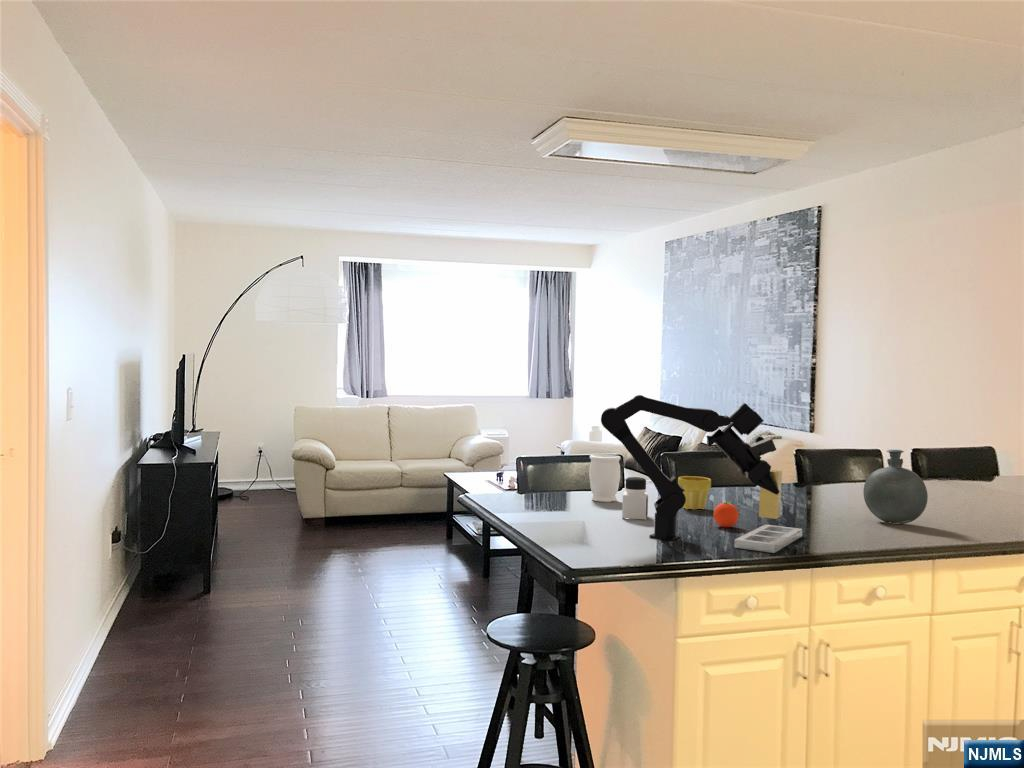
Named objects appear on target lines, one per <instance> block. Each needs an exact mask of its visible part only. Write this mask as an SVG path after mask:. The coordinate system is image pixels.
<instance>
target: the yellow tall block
mask: <svg viewBox="0 0 1024 768" xmlns="http://www.w3.org/2000/svg"><path fill="white" fill-rule="evenodd" d="M770 477H771V478H772V480H773V482H774V483H775V485H776V486H777V488H778V490H779V491H780V493H778V494H777V495H776V494H774V493H772V492H770V491H768V490H766V489H764V488H762V487H760V486H759V506H758V507H759V508H758V517H759V518H764V519H765V518H766V519H775V520H777V519H778V518H780V517H781V507H782V506H781V499H782V477H783V471H782V470H778V469H776V470H775V469H771V470H770Z"/></svg>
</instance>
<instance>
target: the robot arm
mask: <svg viewBox="0 0 1024 768" xmlns="http://www.w3.org/2000/svg"><path fill="white" fill-rule="evenodd" d="M641 411H643V412H647V413H650V414H655V415H658V416H663V417H666V418H669V419H674V420H677V421H681V422H684V423H686V424H689V425H691V426H693V427H695V428H697V429H700V430H702V431H704V432H707V433H712V432H714V433H713V434H712V435H706V446H708V447H711V446H712V445H714V444H715V445H716V446H717V447H718V448H719V449H720V450H721V451H722V452H723V454H724V455H726V456H727V458H728V459H729V460H730V461H732V463H733V464H734V465H735V466H736V467H737V471H738V472H739V473H740V474H741V475H742V476H745V478H746V479H747V480H749V481H750V482H751V483H752V484H754V485H756V486H758V487H759V488H760V487H762V488H764V489H766V490H768V491H770V492H772V493H774V494H776V495H777V494H778V493H780V491H779V490H778V488H777V486H776V485H775V483H774V482H773V480H772V478H771V477H770V470H772V469H771V468H772V465H770V464H769V462H768V461H766V460H765V459H762V457H761V456H763V455H766V454H768V453H771V452H772V453H773V452H775V451H777V447H776V445H775V443H774V441H773V438H772V437H765V438H764V437H763V436H761V435H759V436H757V437H756V436H755V439H754V442H753V443H752V444H750V443H747V442H745V441H744V440H743V439H742V438H741V437H740V436H739V435H741V436H743V435H746V436H749V435H750V434H751V433H752V432H753V431H755V429H757V428H758V427H759V426H760V425H761V424H763V422H764V419H763V418H762V417H761V415H759V414H758V412H757V411H754V409H752V408H751V406H749V405H748V404H747V403H745V402H744V403H742V404H741V405H740V406H739V408H738V409H737V410H736V411H734V413H732V414H731V415H730V416H728V415H720V414H719V413H718V412H717V411H715V410H712V409H709V408H699V407H698V408H697V407H686V406H685V407H684V406H680V405H677V404H673V403H669V402H666V401H661V400H657V399H654V398H649V397H646V396H644V395H642V394H636V395H635V396H634V397H633V398H631V399H629V400H627V401H626V402H625V403H622V404H621V405H618V406H617V407H608V408H606V409H605V410H604V411H602V413H601V416H600V417H601V418H600V423H601V425H602V426H603V428H604V429H605V430H607V432H609V433H610V434H611V435H612V436H613V437H615V439H617V440H618V441H619V442H620V443H621V444H622V445H623V447H624V448H625V449H626V450H627V451H628V453H630V455H631V456H632V458H633V459H634V460H635V462H636V463H637V464H638V465H639V467H640V468H641V469H642V470H643V472H644V473H645V475H646V476H647V477H648V478H649V479H650V481H651V482H652V484H653V485H654V487H655V489H656V490H657V493H658V495H659V497H660V498H659V499H657V500H656V501H655V502H654V503H653V505H654V509H655V513H654V532H653V533H652V534H650V535H649V538H653V539H654V538H655V539H661V540H669V541H673V540H676V539H678V538H681V537H682V534H678V533H677V517H678V512H679V510H681V509H682V508H683V506H684V504H685V501H686V497H685V495H684V493H683V492H684V491H685V490H684V488H683V487H682V486H680V485H679V484H678V480H676V478H675V476H674V475H672V476H671V477H670V478H669V477H668V476H667V475H666V474H665V473H664V472H663V471H662V470H661V469H660V467H659V466H658V464H656V462H655V461H654V459H653V458H652V457H651V456H650V454H649V453H648V452H647V450H645V447H644V446H643V445H642V444H641V443H640V442H639V440H638V439H637V438H636V437H635V435H634V434H633V432H632V431H631V429H630V427H629V425H628V423H627V422H626V420H628V419H629V418H631V417H632V416H634V415H635V414H637V413H638V412H641ZM720 427H724V428H723V429H720ZM732 428H733V429H732ZM734 430H735V431H736V432H737V433H738V434H739V435H738V434H737V433H736V432H735V431H734Z"/></svg>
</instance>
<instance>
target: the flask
mask: <svg viewBox="0 0 1024 768" xmlns="http://www.w3.org/2000/svg"><path fill="white" fill-rule="evenodd" d="M886 453H889V457H890V458H887V464H888V466H886V467H882V468H877V470H875V471H872V472H871V473H870V474H869V476H868V477H867V478H866V480H865V482H864V485H863V499H864V503H865V504H866V507H867V508H868V510H869V511H870V512H871V513H872V514H873V515H874V516H875V517H876V518H877V519H879V520H881V521H883V522H884V521H885V523H887V522H891V523H900V524H899V525H903V524H905V525H906V524H909V523H911V522H913V521H916V520H917V519H918V518H919V517H921V516H922V514H923V513H924V511H925V510H926V507H927V505H928V499H929V498H928V497H929V495H928V489H927V487H926V483H925V482H924V481H923V479H922V477H920V476H919V475H918V474H917V473H916V472H914V471H913V470H911V469H908V468H904V467H903V464H904V459H903V458H901V456H902V454H903V453H905V451H903V450H901V449H888V450H886ZM891 523H890V524H891Z"/></svg>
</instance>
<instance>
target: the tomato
mask: <svg viewBox="0 0 1024 768" xmlns="http://www.w3.org/2000/svg"><path fill="white" fill-rule="evenodd" d="M713 519H714V521H715V523H716V524H717V525H718V526H720V527H722V528H731V527H733V526H734V525H736V523H737V522H738V521H739V511H738V508H737V507H736V506H735V505H734V504H733V503H732V502H726V501H725V502H721V503H719V504H718V505H717V506H716V507H714V511H713Z"/></svg>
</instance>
